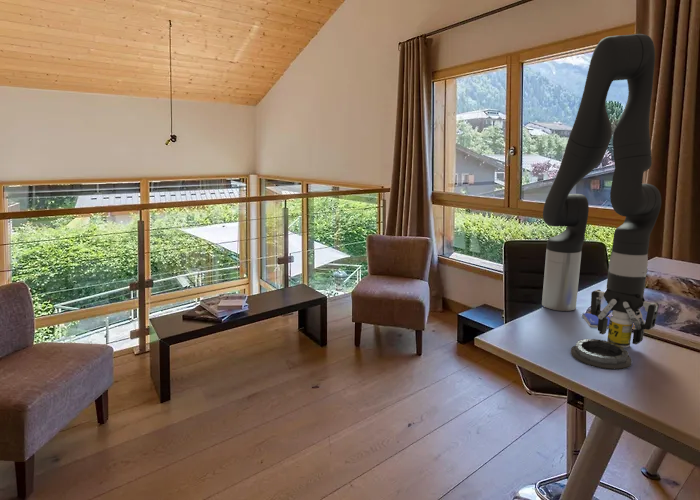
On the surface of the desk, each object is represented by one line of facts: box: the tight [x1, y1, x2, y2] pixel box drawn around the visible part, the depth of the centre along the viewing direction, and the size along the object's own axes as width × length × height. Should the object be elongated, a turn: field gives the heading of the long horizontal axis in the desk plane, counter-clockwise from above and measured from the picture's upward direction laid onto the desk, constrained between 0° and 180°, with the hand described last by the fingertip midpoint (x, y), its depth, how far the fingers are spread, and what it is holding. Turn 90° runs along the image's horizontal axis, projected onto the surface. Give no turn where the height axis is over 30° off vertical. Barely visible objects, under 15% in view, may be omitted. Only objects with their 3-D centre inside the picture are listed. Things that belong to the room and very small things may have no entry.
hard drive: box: [581, 312, 610, 329], centre depth 120 cm, size 2×8×12 cm
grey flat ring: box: [570, 338, 633, 371], centre depth 101 cm, size 12×12×2 cm
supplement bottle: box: [606, 310, 633, 348], centre depth 107 cm, size 5×5×8 cm
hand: (618, 338), depth 107 cm, fingers open, 7 cm apart
